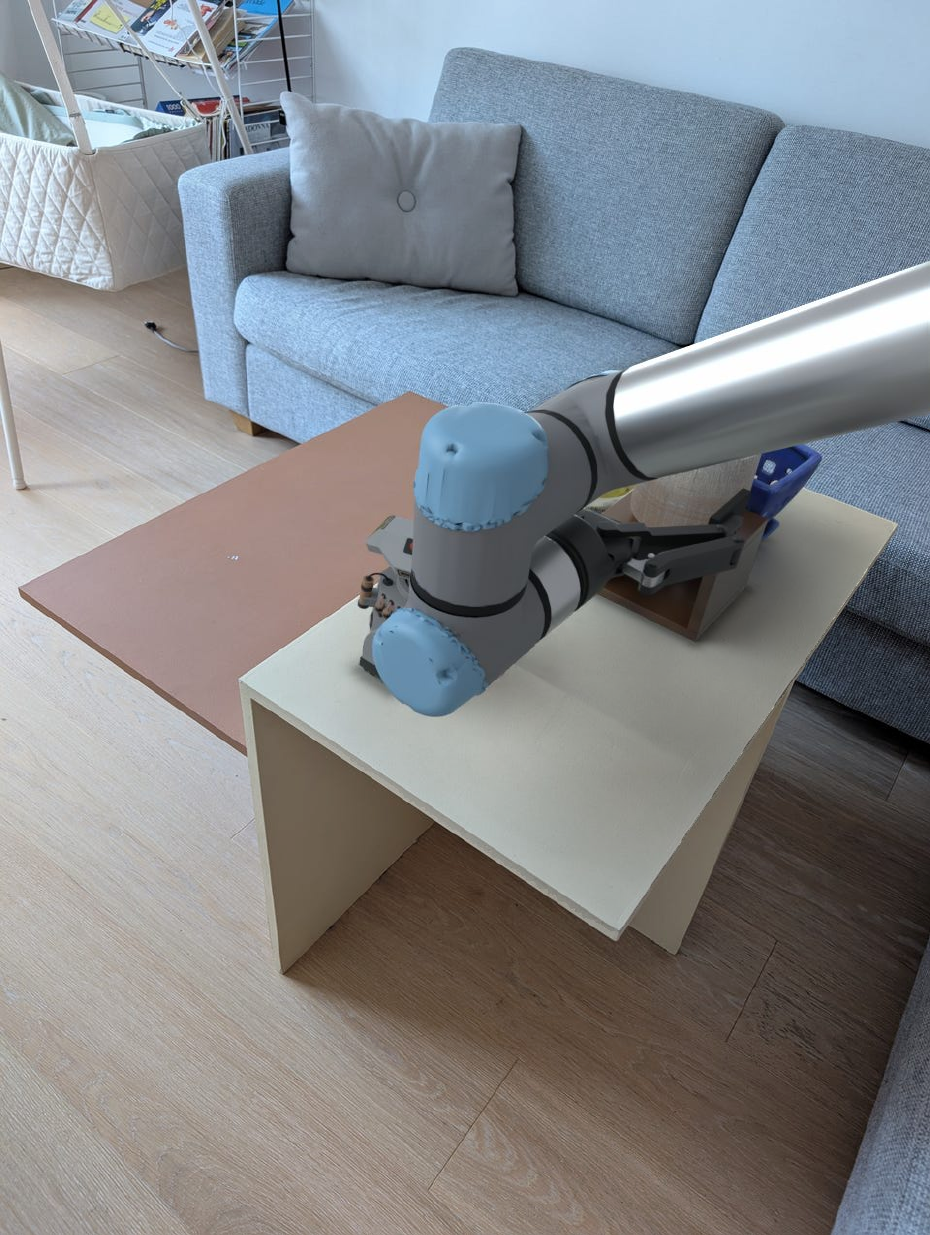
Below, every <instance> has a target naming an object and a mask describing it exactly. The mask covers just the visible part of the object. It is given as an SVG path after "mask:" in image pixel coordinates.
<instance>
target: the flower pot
mask: <svg viewBox="0 0 930 1235" xmlns="http://www.w3.org/2000/svg"><path fill="white" fill-rule="evenodd" d="M822 459H823V455H822V454H821V453H819V452H818V451H816V450H815V449H813V448H811V447H810V446H808V445H806V444H801V445H797V446H792V447H788V448H784V449H780V450H775V451H771V452H767V453H763V454H762V455H761V458H760V461H759V464H758V467H757V470H756V474H755V477H756V478H755V477H754V480H753V483H752V487H751V490H750V491H751V494H750V497H749V500H748V503H747V506H746V510H748V511H750V512H753V513H755V514H758V515H760V516H763V517H765V518H768V522H767V524H766V527H765V530H764V533H763V536H762V539H761V542H760V543H762V542H763V541H764V540H765V539H767V538H768V537H769V536H770V535H772V533H774V532H775V531H776V530H777V529H778V528H779V526H780V522H779V520H778V519H775V517H776V516H778V515H779V513H780V512H782V510H784V509H785V507H787V506H788V504H790V502H792V501H793V500H794V498H795V497H796V496H797V495H798V494H799V493H800V491H802V489H803V488H804V487H805V485H806V484H807V483H808V481H809V480H810V479H811V478H812V476H813V475H814V473H815V472H816V470H817V469H818V467H819V465H820V463H821V462H822ZM767 461H770V462H772V463H774V468H773V471H772V472H769V471H767V470H765V469H764V465H765V463H766V462H767ZM788 470H790V473H789V472H787V471H788Z"/></svg>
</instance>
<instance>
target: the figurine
mask: <svg viewBox="0 0 930 1235" xmlns="http://www.w3.org/2000/svg"><path fill="white" fill-rule="evenodd" d="M413 528H414V519H409V518H405V517H402V516H398V515H394V514H392V515H390V516H388V517H387V518H385V519H384V520H383V522H382V523H380V525H379V526H377V528H376V529H375V530H373V532H372V533H371V534H370V535H369V536H368V537H367V538H366V540H365V546H366V548H367V549H368V550H367V551H368V552H371V553H374V554H379V555H381V556H382V557H383V558H384V560H385V561H386V562H387V564H388V565H389V566H388V567H387V568H385V569H383V570H381V571H380V572H373V573H370V574H369V575H368V574H366V575H364V576H363V578H362V582H361V586H360V592H359V598H358V599H357V607H358V608H359V609H362V610H367V609H369V608H372V610H371V613H370V616H369V622H368V624H369V633H368V634H367V635H366V636H365V638H364V641H363V645H362V655H361V656H360V657H359V658H360V659H359V664H358V665H359V666H360V667H361V668H363V670H364V671H365V672H366V673H370V675H371V676H372V677H376V678H378V679H379V680H380V682H382V683H383V681H382V679H381V678H380V676H379V674H378V671H377V669H376V667H375V664H374V660H373V654H372V643H373V638H374V635H375V634H376V631H377V629H378V628H379V627H380V626H381V625H382V624H383V623H384V622H385V621H386V620H387V619H388V618H389V617H390V616H391V614H392V613H393V612H395V611H396V610H397V609H400V608H401V607H402V608H403V607H404V606H405V605H406V603H407V601H408V597H409V577H410V572H411V569H412V548H413ZM373 576H378V581H377V585H376V587H374V582H375V579H374V577H373Z"/></svg>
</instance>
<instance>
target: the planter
mask: <svg viewBox="0 0 930 1235" xmlns="http://www.w3.org/2000/svg"><path fill="white" fill-rule="evenodd" d="M761 455H762V454H758V455H754V456H750V457H746V458H742V459H737V460H733V461H729V462H725V463H720V464H716V465H712V466H708V467H703V468H699V469H695V470H691V471H687V472H682V473H678V474H674V475H670V476H665V477H661V478H659V479H655V480H651V481H647V482H644V483H640V484H635V485H634V489H633V493H632V497H631V512H632V514H633V516H634V517H635V519H636V520H637V521H638V522H639V523H640V522H641V523H644V524H645V525H646V526H647V527H666V526H687V525H708V523H709V519H710V517H711V516H712V515H713V514H714V513H715V512H717V511H718V510H719V509H720V508H721V507H722V506H723V505H725V504H726V503H727V502H728V501H729V500H730V499H731V498H733V497H734V496H735V495H736V494H737V493H738V492H739V491H741V490H742V489H743V488H744V489H746V490H749V491H750V490H751V487H752V483H753V480H754V478H755V477H756V475H755V474H756V470H757V467H758V464H759V461H760V458H761Z"/></svg>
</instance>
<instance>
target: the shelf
mask: <svg viewBox="0 0 930 1235" xmlns="http://www.w3.org/2000/svg"><path fill="white" fill-rule="evenodd" d="M632 493H633V490H632V491H631V492H630V493H628V494H627V495H626V496H624V497H623V498H622V499H620V500H619V501H618V502H616V503H615V504H614V505H612V506H611V507H610V508H608V509H607V510H606V511H604V510H603V512H601V514H603V515H604V516H606V517H609V518H612V519H616V520H618V521H620V522H622V523H639V522H638V521H637V520H636V519H635V517H634V516H633V514H632V512H631V497H632ZM767 522H768V518H765V517H763V516H760V515H758V514H755V513H753V512H750V511H748V510H746V509H745V512H744V515H743V522H742V525H741V528H740V531H739V534H738V535H737V536H739V537H742V538H744V539H745V545H744V548H743V551H742V554H741V557H740V560H739V563H738V566H737V568H735V569H732V570H728V571H724V572H720V573H716V574H712V575H707V576H703V577H699V578H695V579H691V580H687V581H683V582H679V583H675V584H671V585H667V586H664V587H663V588H661V589H660V590H658V591H657V592H655V593H654V594H652V595H644V594H641V593H640V592H639V590H638V588H639V584H640V582H639V581H637V580H635V579H633V578H632V577H630V576H628V575H626V574H624V575H622V576H617V577H614V578H611V579H610V580H609V581H608V582H607V584H606V585H605V586H604V587H603V588H602V589H601V590H600V591H599V592H598V593H597V594H596V595H599V596H601V597H604V598H606V599H608V600H610V601H611V602H614V603H615V604H617V605H619V606H621V607H623V608H626V609H628V610H630V611H631V612H634V613H636V614H638V615H640V616H641V617H644V618H646V619H648V620H650V621H652V622H654V623H656V624H658V625H661V626H662V627H665V628H667V629H668V630H670V631H672V632H675V633H677V634H679V635H681V636H682V637H685V638H687V639H688V640H691V641H693V642H696V641H698V639H700V637H702V635H703V634H704V633H705V632H706V631H707V630H708V629H709V628H710V627H711V625H712V624H713V623H714V622H715V621H716V620H717V619H718V618H719V617H720V616H721V615H722V613H723V612H725V610H726V609H727V608H728V607H730V605H731V604H732V603H733V602H734V601H735V599H736V598H738V596H739V595H740V594H741V593H742V592H743V591H744V590H745V588H746V585H747V581H748V580H749V576H750V573H751V571H752V567H753V564H754V562H755V559H756V556H757V553H758V550H759V547H760V544H761V543H762V542H761V539H762V536H763V533H764V530H765V527H766V524H767ZM629 538H630V543H631V548H632V545H633V541H634V537H629Z"/></svg>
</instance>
